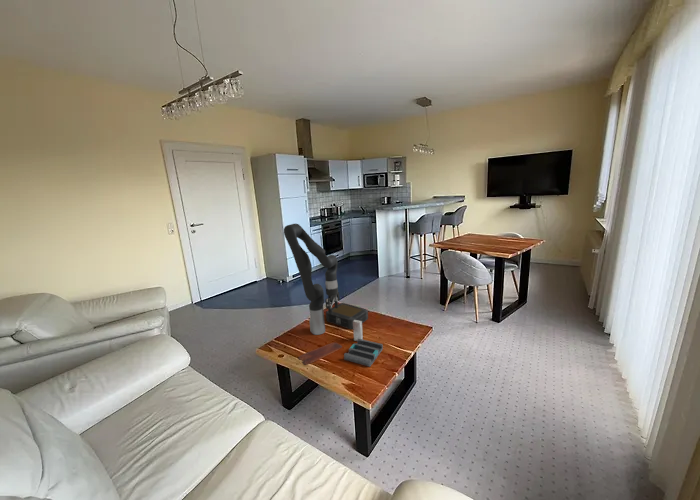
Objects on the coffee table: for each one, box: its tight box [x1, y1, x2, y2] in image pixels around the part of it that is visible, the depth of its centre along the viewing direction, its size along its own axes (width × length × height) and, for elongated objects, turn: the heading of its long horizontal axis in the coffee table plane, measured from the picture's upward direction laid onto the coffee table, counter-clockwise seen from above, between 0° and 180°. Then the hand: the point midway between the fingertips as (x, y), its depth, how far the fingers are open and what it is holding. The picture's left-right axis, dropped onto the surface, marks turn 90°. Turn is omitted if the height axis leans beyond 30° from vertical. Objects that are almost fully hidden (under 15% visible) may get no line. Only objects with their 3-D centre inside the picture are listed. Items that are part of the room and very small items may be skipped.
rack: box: [343, 338, 384, 368], centre depth 165 cm, size 16×18×4 cm
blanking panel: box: [352, 320, 364, 342], centre depth 179 cm, size 5×2×13 cm, turn 61°
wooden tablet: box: [298, 342, 343, 366], centre depth 169 cm, size 27×10×2 cm, turn 127°
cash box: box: [325, 302, 369, 330], centre depth 207 cm, size 25×20×8 cm
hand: (333, 310), depth 183 cm, fingers open, 8 cm apart
